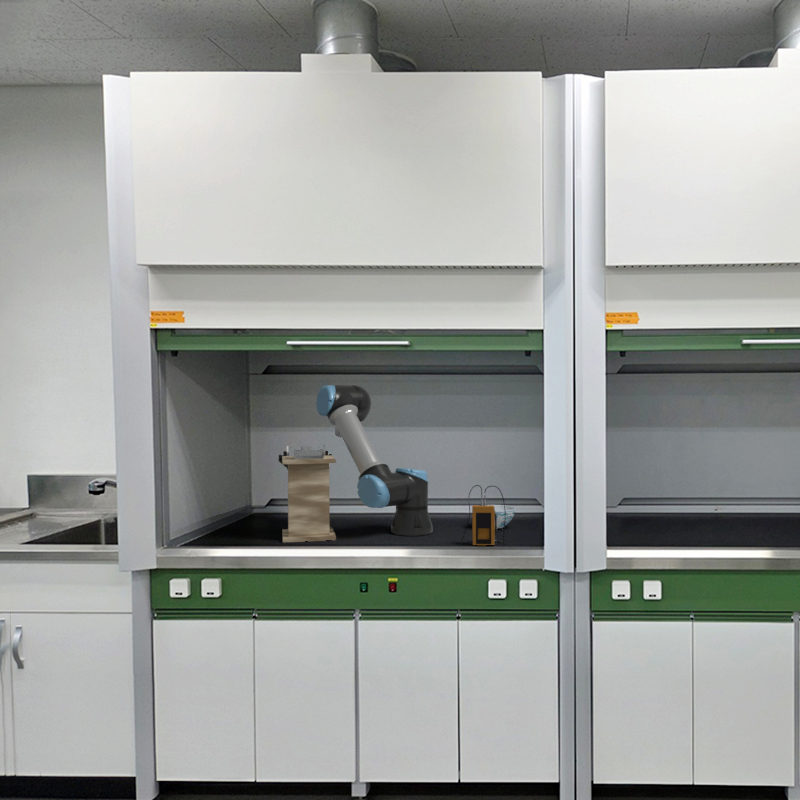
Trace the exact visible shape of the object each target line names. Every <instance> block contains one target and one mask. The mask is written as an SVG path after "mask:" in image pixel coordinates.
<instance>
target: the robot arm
mask: <svg viewBox="0 0 800 800" xmlns="http://www.w3.org/2000/svg"><path fill="white" fill-rule="evenodd" d="M315 405H316V411H317V412H318V415H320V416H323V417H327V419H328V421H329V423H330V424H331V425H333V426H335V425H336V426H335V435H336V436H338V437H340V438H341V437H342V438H343V440H344V442H345V443H344V444H345V446H346V448H347V450H348V453H349V454H350V455H351V458H352V461H353V462H354V464H355V466H356V467H357V468H356V469H357V470H358V473H359V476H358V480H357V481H358V482H357V488H356V489H358V490H357V495H358V497H359V499H360V502H362V503H363V505H365V506H366V507H368V508H371V509H382V508H386V507H393V506H394V507H395V513H394V515H393V519H392V522H391V526H390V528H391V529H390V530H391V531H390V532H391V533H392V534H394V535H398V536H406V537H407V536H409V537H410V536H417V537H418V536H426V535H431V534H432V533H433V532H434V531H433V527H434V526H433V523H432V520H431V517H430V514H429V509H428V506H429V505H428V504H429V503H428V502H429V501H428V497H429V491H428V490H429V481H428V473H427V472H426V470H424V469H415V468H413V469H412V468H407V467H406V468H403V467H397V468H395V472H392V471H391V469H390V467H389V465H388V464H387V463H384V462H382V461H381V460H380V458H379V455H378V454H377V452H376V449H375V448H374V446H373V443H372V442H371V440H370V438H369V436H368V434H367V432H366V430H365V429H364V427H363V425H362V422H364V421H365V419H366V418H367V417H368V415H369V414H370V411H371V408H372V399H371V396H370V394H369V392H368V391H367V390H366V389H365V388H364V387H362V386H360V385H352V384H351V385H347V384H346V385H345V384H343V385H342V384H339V385H338V384H330V385H324V386H322V387H321V388H320V389H319V391H318V393H317V395H316V401H315ZM289 448H290V446H289V445H286V450H285V451H283V454H278V462H279V463H280V464H282V456H289ZM323 450H324V455H328V451H326V450H325V445H323ZM329 455H332V454H329ZM282 465H283V466H284V467H285V468H286V469H287V471H288V464H282Z"/></svg>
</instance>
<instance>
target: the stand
mask: <svg viewBox="0 0 800 800" xmlns="http://www.w3.org/2000/svg"><path fill="white" fill-rule="evenodd" d="M329 463H336V464H337V461H336V459H335V458H334V457H333V456H332V455H324V459H294V456H282V465H283V464H288V470H287V528H282V530H281V531H282V533H281V534H282V543H304V542H305V541H308V542H325V541H326V540H332V541H337V535H336V533H335V531H334V528H333V526H332V527H331V526H330V525H331V524H330V521H331V520H330V467H329ZM305 543H306V542H305Z"/></svg>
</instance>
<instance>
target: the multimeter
mask: <svg viewBox="0 0 800 800" xmlns="http://www.w3.org/2000/svg"><path fill="white" fill-rule="evenodd" d="M475 487H479V488H480V489H481V490H480V493H481V495H480V498H481V499H480V505H479V504H478V505H477V504H474V505H472V506H470V505H471V504H470V503H468V509H469V513H472V514H469V515H468V519H467V522H466V526H465V529H464V533H463V536H462V539H461V543H460V546H462V545H464V544H463V543H464V542H463V540H464V538H465V535H466V531H467V528H468V525H469V521H470V519H471V518H470V517H472V519H471V520H472V521H471V522H472V523H471V524H472V527H471V529H472V545H473V546H474V545H477V546H486V545H494V546H495V543H496V542H495V541H496V536H497V531H498V530H497V520H496V514H495V507H494V506H493V505H494V504H487V500H486V499H487V498H486V496H484V498H483V489H482V486H481V485H478V484H476V485H474V486H472V487H471V489H470V490H469V493H468V497H470V494H471V492H472V490H473V489H474V488H475ZM491 487H493V488H496V489H498V490H499V492H500V495H501V496H502V502H503V505H504V509H505V505H506V503H505V500H504V496H503V493H502V491H501V490H500V488H499V487H498V486H496V485H489V486H487V487H486V488H485V489H484V492H486V491H487V489H488V488H491ZM483 499H484V501H483ZM471 507H472V509H471ZM471 510H472V511H471ZM471 515H472V516H471ZM505 517H506V513H505ZM505 527H506V526H505V522H504V529H503V533H506V528H505ZM502 539H503V540H502V542H503V543H502V544H503V545H505V544H504V543H505V535H503V537H502Z"/></svg>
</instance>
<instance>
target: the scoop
mask: <svg viewBox="0 0 800 800" xmlns="http://www.w3.org/2000/svg"><path fill="white" fill-rule="evenodd" d="M300 447H301V450H296V449H294V459H324V450H323V449H320V450H318V449H317V450H316V449H314V450H313V448H312V447H311V446H300Z"/></svg>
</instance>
